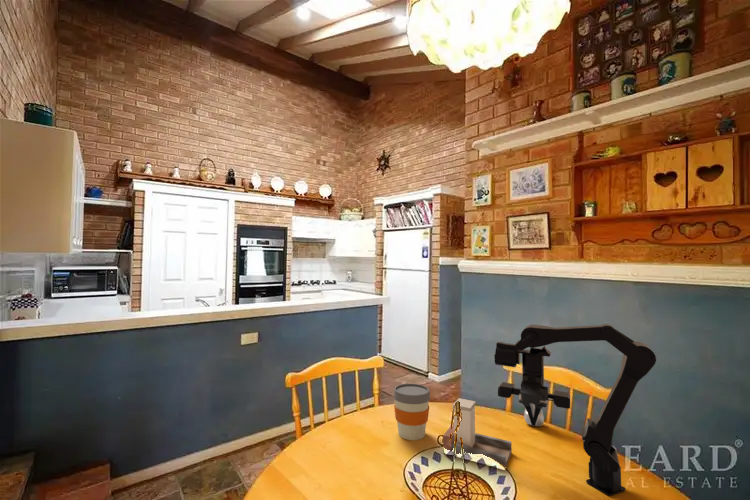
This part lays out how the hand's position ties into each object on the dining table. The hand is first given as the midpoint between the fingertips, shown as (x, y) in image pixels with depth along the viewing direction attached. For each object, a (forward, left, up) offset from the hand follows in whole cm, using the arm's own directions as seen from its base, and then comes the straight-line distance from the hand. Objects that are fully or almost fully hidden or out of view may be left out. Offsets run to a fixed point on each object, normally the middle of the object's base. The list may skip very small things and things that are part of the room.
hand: (533, 425), depth 102 cm
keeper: (+16, +12, -10) cm, 22 cm away
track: (+13, +10, -12) cm, 20 cm away
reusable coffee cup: (+32, +22, -12) cm, 41 cm away
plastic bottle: (+22, -23, -12) cm, 33 cm away
